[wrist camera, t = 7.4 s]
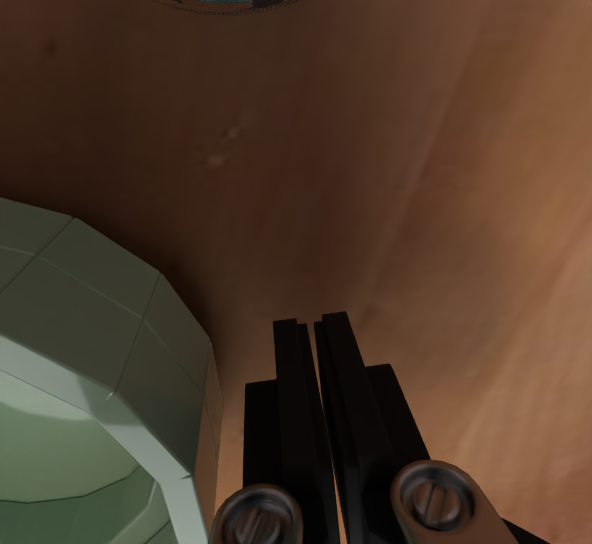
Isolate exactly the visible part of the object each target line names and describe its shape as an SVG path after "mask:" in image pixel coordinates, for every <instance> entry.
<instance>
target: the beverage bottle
mask: <svg viewBox="0 0 592 544" xmlns="http://www.w3.org/2000/svg"><path fill="white" fill-rule="evenodd" d="M154 1H155V0H154ZM174 1H177V2H179V3H183V4H186V3H184V2H182V1H181V0H174ZM198 1H204V2H221V3H238V2H247V1H252V8H249V9H255V8H264V7H268V6H272V5H275V4H279V3H283V1H284V0H198ZM289 1H291V0H289ZM296 1H297V0H296ZM155 2H156V1H155ZM157 2H158V1H157ZM284 2H287V1H284ZM293 2H294V1H293ZM293 2H292V3H293ZM297 2H298V1H297ZM289 3H290V2H289ZM289 3H287V4H289ZM164 5H165V3H164ZM169 5H170V4H169ZM283 5H285V4H283ZM290 5H291V4H290ZM167 6H168V5H167ZM174 6H175V5H174ZM279 6H281V5H279ZM286 6H287V5H286ZM170 7H171V6H170ZM172 7H173V6H172ZM275 7H277V6H275ZM282 7H283V6H282ZM177 8H178V7H177ZM271 8H273V7H271ZM278 8H279V7H278ZM175 9H176V7H175ZM182 9H183V8H182ZM182 9H181V10H182ZM267 9H268V8H267ZM275 9H276V8H275ZM187 10H188V9H187ZM187 10H186V11H187ZM243 10H246V9H243ZM262 10H264V9H262ZM271 10H272V9H271ZM192 11H193V10H191V12H192ZM235 11H237V10H235ZM253 11H255V10H253ZM258 11H259V10H258ZM267 11H268V10H267ZM197 12H198V11H196V13H197ZM245 12H247V11H245ZM249 12H251V11H249ZM263 12H264V11H263ZM205 13H207V12H205ZM209 13H211V12H209ZM213 13H215V12H213ZM218 13H220V12H218ZM222 13H223V12H222ZM236 13H238V12H236ZM240 13H242V12H240ZM255 13H257V12H255ZM201 14H202V12H201ZM228 14H229V13H228ZM231 14H233V13H231ZM246 14H248V13H246ZM217 15H223V14H217ZM237 15H239V14H237Z"/></svg>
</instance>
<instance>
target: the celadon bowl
mask: <svg viewBox="0 0 592 544" xmlns="http://www.w3.org/2000/svg"><path fill="white" fill-rule="evenodd" d="M222 409H223V400H222V395H221V390H220V385H219V379H218V374H217V369H216V363H215V358H214V353H213V347H212V343H211V342H210V338H209V336H208V335H207V334H206V332H205V331H204V330H203V328H202V327H201V326H200V324H199V323H198V321H197V320H196V319H195V317H194V316H193V315H192V313H191V312H190V311H189V309H188V308H187V307H186V305H185V304H184V302H183V301H182V300H181V298H180V297H179V296H178V294H177V293H176V292H175V290H174V289H173V288H172V286H171V285H170V283H169V282H168V281H167V279H166V278H165V277H164V275H163V274H160V272H159V271H158V270H157V269H155V268H154V267H152V266H151V265H149V264H148V263H146V262H145V261H143V260H141V259H140V258H138V257H137V256H135V255H134V254H132V253H131V252H129V251H128V250H126V249H124V248H123V247H121V246H120V245H118V244H117V243H115V242H114V241H112V240H111V239H109V238H107V237H106V236H104V235H103V234H101V233H100V232H98V231H97V230H95V229H94V228H92V227H90V226H89V225H87V224H86V223H84V222H83V221H81V220H80V219H78V218H74V219H73V217H72V216H70V215H66V214H62V213H58V212H55V211H51V210H47V209H43V208H39V207H35V206H32V205H28V204H24V203H20V202H16V201H12V200H8V199H5V198H1V197H0V544H207V543H208V539H209V535H210V531H211V526H212V523H213V520H214V512H215V500H216V487H217V474H218V460H219V447H220V435H221V422H222Z"/></svg>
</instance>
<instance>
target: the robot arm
mask: <svg viewBox="0 0 592 544" xmlns="http://www.w3.org/2000/svg"><path fill="white" fill-rule="evenodd" d="M314 330H315V340H316V349H317V358H318V367H319V377H320V386H321V395H322V404H323V409H322V404H321V398H320V393H319V387H318V382H317V377H316V371H315V366H314V361H313V355H312V350H311V345H310V339H309V334H308V328H307V323H303V324H297V319H296V318H293V319H286V320H279V321H273V331H274V346H275V360H276V375H277V379H274V380H267V381H260V382H253V383H246V385H245V412H244V452H243V489H240V490H238V491H236V492H235V493H234V494H232V495H231V496H230V497H229V498H227V499H226V500H225V502H224V503H223V504H222V505H221V507H220V508H219V509H218V511H217V513H216V515H215V518H214V520H213V523H212V526H211V531H210V535H209V539H208V543H207V544H341V543H340V533H339V524H338V514H337V504H336V494H335V485H334V475H333V469H334V474H335V480H336V485H337V491H338V496H339V501H340V507H341V512H342V517H343V523H344V528H345V534H346V539H347V544H550V543H548V542H546V541H544V540H543V539H541V538H539V537H537V536H535V535H533V534H531V533H529V532H528V531H526V530H524V529H522V528H520V527H518V526H516V525H514V524H513V523H511V522H509V521H507V520H505V519H503V518H501V517H500V516H499V514H498V513H497V512H496V510H495V509H494V507H493V506H492V504H491V503H490V501H489V500H488V498H487V497H486V496H485V494H484V493H483V491H482V490H481V488H480V487H479V485H478V484H477V483H476V482H475V481H474V480H473V479H472V478H471V477H470V475H469V474H467V473H466V472H464V471H463V470H461V469H460V468H458V467H457V466H455V465H452V464H449V463H447V462H444V461H438V460H431V458H430V456H429V454H428V451H427V449H426V446H425V444H424V442H423V439H422V437H421V435H420V432H419V430H418V428H417V425H416V423H415V420H414V418H413V416H412V413H411V411H410V409H409V406H408V404H407V401H406V399H405V397H404V394H403V392H402V390H401V387H400V385H399V383H398V380H397V378H396V375H395V373H394V371H393V369H392V367H391V365H390V364H382V365H374V366H367V367H365V366H364V363H363V360H362V357H361V354H360V351H359V348H358V345H357V342H356V339H355V336H354V333H353V330H352V327H351V324H350V321H349V319H348V316H347V313H346V312H345V311H344V312H337V313H330V314H322V321H318V322H314ZM323 413H324V414H323ZM331 458H332V459H331ZM332 464H333V467H332Z"/></svg>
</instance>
